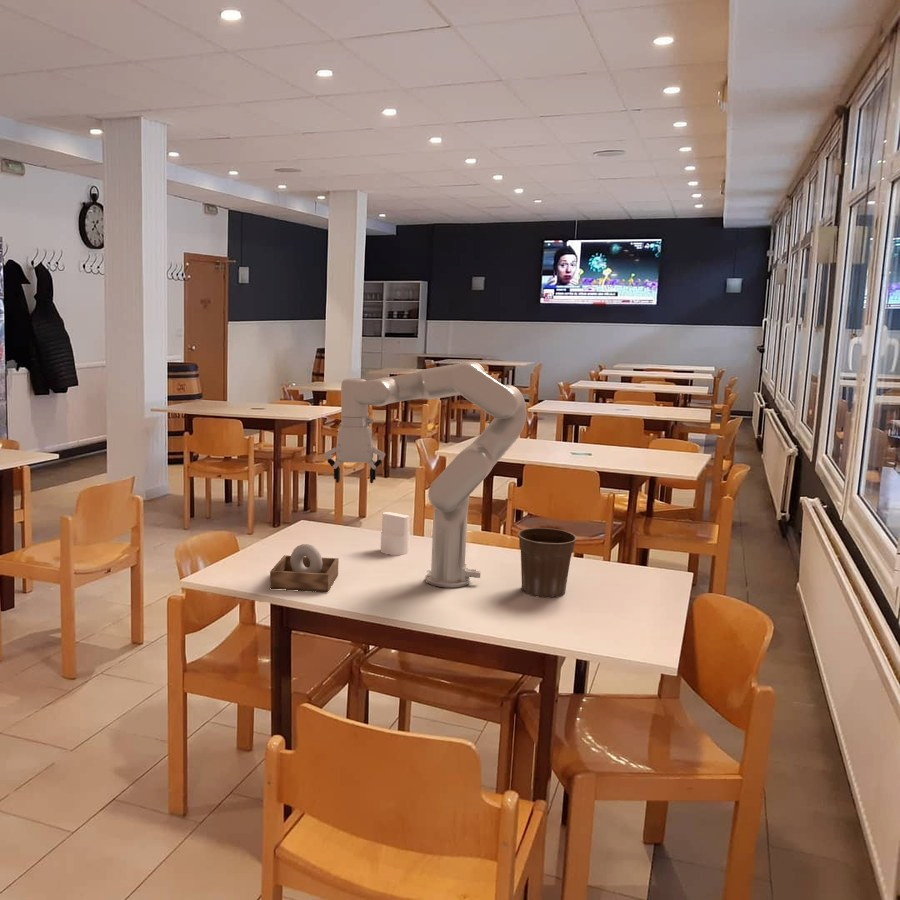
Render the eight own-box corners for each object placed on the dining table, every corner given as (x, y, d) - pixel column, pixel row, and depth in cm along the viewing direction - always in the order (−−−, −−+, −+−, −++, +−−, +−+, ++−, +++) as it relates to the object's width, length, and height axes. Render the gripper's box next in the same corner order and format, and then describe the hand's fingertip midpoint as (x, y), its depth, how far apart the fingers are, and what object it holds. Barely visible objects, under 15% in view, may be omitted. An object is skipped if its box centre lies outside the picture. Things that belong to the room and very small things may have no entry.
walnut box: (338, 575, 236) (338, 558, 236) (327, 592, 221) (328, 574, 220) (283, 572, 237) (284, 555, 236) (269, 589, 222) (270, 571, 221)
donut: (324, 581, 228) (325, 545, 227) (317, 584, 225) (318, 548, 224) (294, 574, 233) (295, 540, 231) (287, 577, 230) (287, 542, 228)
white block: (414, 551, 265) (415, 514, 264) (397, 557, 258) (399, 519, 256) (391, 546, 270) (392, 510, 268) (374, 551, 262) (376, 514, 261)
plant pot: (569, 604, 221) (574, 545, 219) (510, 596, 225) (513, 539, 222) (575, 586, 237) (579, 531, 234) (519, 579, 240) (522, 525, 238)
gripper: (386, 421, 238) (386, 480, 240) (326, 420, 238) (326, 479, 240) (384, 424, 231) (384, 485, 233) (322, 423, 230) (322, 484, 233)
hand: (354, 482), depth 237 cm, fingers open, 9 cm apart
